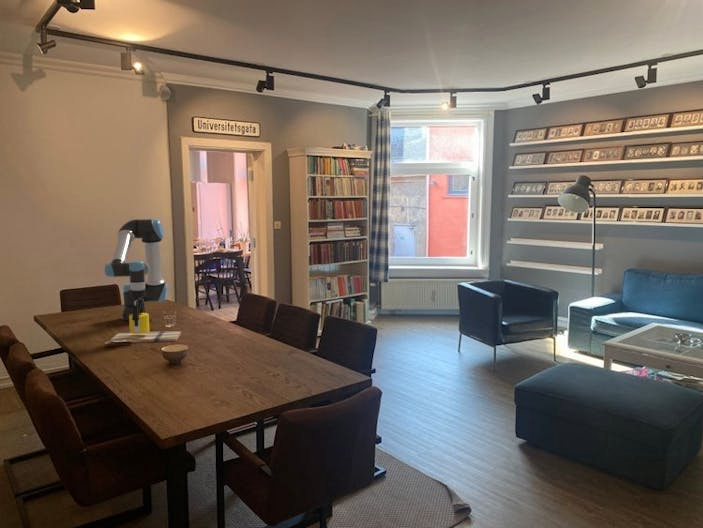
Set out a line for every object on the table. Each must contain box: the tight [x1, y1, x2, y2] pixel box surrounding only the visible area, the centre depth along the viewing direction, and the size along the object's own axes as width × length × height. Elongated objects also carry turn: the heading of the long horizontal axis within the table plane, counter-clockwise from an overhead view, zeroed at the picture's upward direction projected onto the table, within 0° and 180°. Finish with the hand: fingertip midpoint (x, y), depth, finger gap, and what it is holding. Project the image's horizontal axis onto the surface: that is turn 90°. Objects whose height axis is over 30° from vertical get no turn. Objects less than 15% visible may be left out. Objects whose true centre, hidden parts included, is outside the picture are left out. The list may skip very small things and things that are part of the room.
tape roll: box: [128, 312, 150, 334], centre depth 288 cm, size 10×10×9 cm
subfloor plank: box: [109, 330, 182, 344], centre depth 289 cm, size 16×34×2 cm, turn 98°
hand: (139, 329), depth 288 cm, fingers closed on tape roll, 10 cm apart
